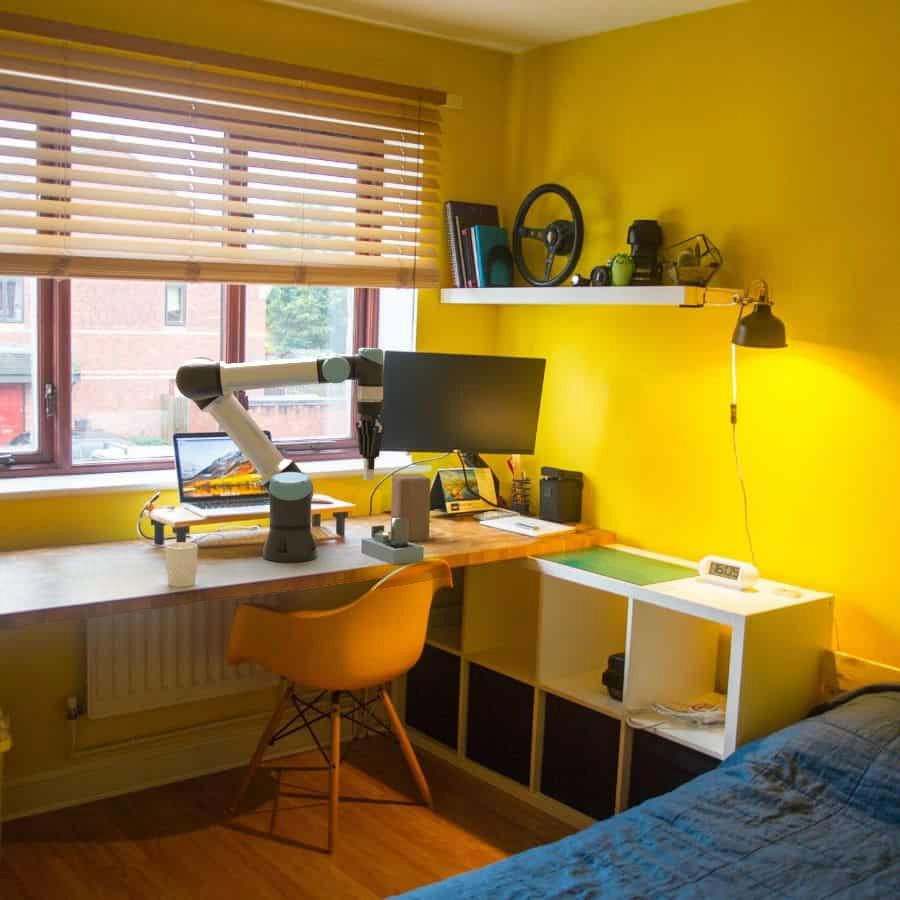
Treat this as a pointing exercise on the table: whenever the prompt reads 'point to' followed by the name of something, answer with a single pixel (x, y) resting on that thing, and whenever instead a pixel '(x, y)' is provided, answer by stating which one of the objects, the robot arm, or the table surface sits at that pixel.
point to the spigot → (399, 532)
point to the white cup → (181, 563)
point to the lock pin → (380, 531)
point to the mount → (391, 550)
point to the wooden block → (412, 503)
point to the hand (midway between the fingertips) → (368, 479)
